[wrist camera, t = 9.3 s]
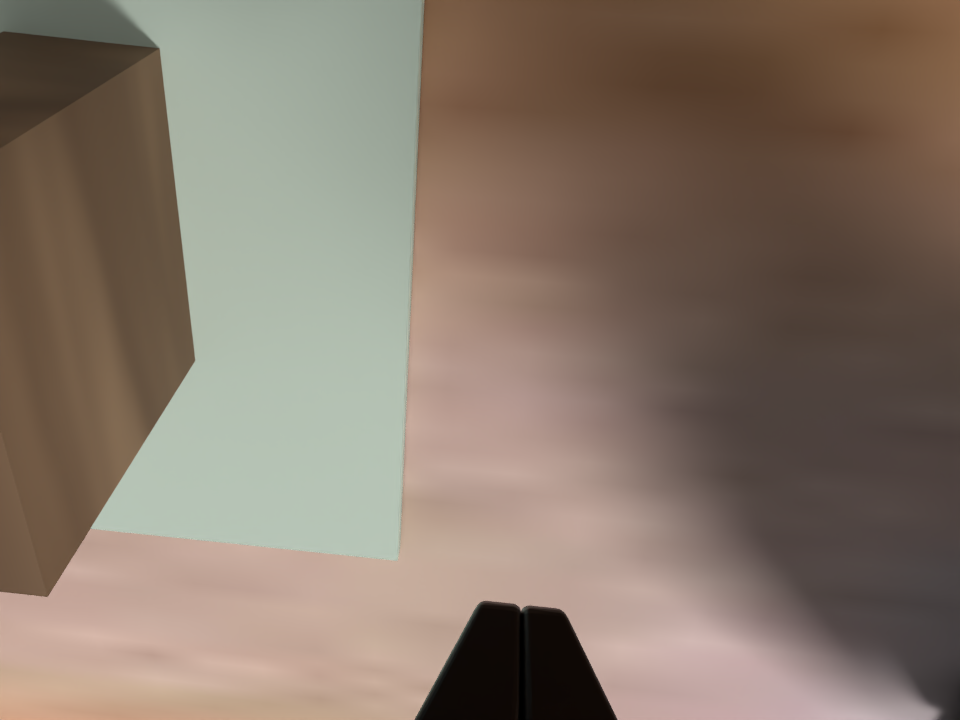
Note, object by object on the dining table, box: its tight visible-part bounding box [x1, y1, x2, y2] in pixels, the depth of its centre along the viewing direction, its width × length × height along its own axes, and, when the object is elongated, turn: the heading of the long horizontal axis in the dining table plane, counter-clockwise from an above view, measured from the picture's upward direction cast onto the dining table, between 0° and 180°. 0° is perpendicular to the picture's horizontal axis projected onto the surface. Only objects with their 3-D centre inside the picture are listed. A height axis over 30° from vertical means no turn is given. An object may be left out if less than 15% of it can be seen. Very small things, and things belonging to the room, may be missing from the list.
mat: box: [0, 0, 424, 561], centre depth 15 cm, size 14×16×1 cm
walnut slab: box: [0, 31, 195, 597], centre depth 13 cm, size 2×6×6 cm, turn 175°
